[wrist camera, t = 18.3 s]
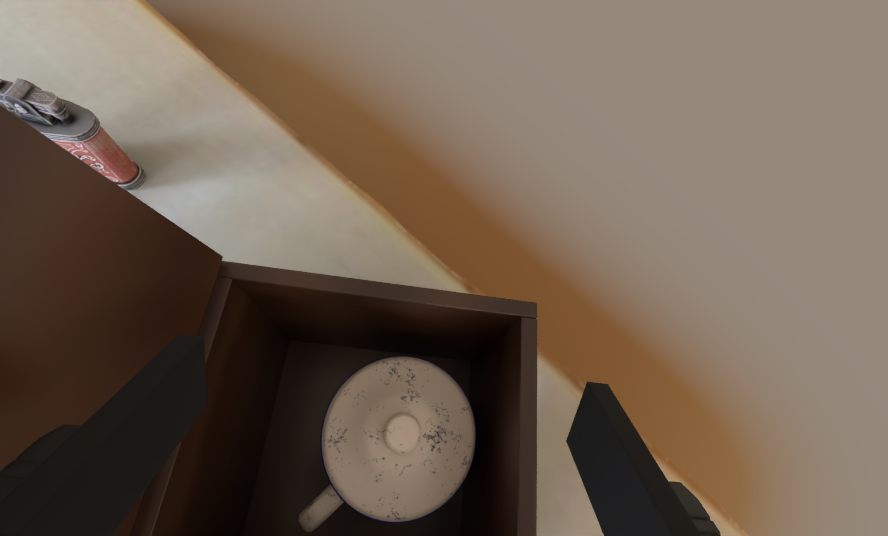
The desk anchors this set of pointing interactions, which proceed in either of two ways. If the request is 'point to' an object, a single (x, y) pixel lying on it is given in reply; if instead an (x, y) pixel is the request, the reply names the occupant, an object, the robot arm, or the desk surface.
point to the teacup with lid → (394, 442)
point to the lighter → (71, 130)
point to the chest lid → (82, 288)
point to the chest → (311, 389)
